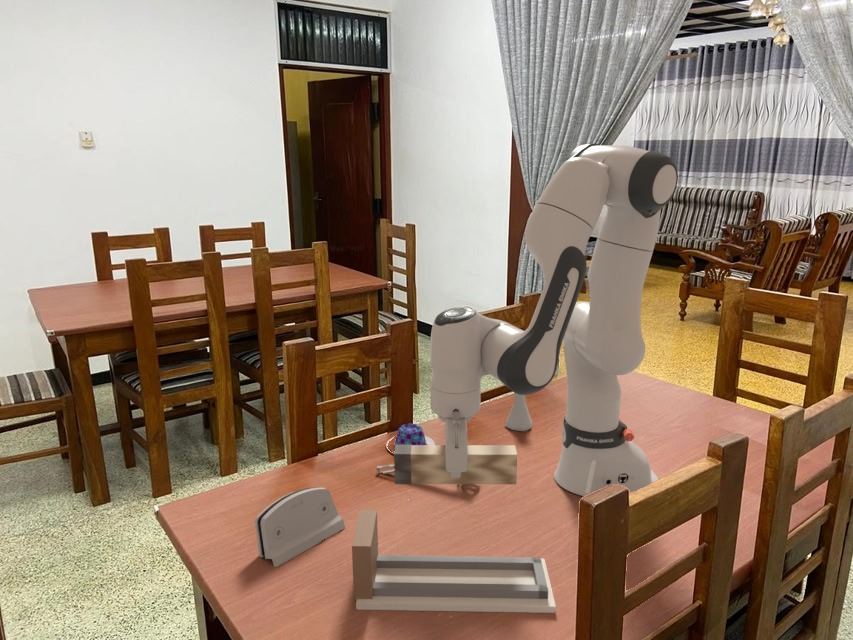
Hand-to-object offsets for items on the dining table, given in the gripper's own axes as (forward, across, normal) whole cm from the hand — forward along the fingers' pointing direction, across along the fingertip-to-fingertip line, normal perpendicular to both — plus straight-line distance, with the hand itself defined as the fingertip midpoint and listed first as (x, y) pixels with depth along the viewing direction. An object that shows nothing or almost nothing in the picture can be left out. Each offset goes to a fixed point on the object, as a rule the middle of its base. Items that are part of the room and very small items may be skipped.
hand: (455, 468), depth 116 cm
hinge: (+15, -1, +30) cm, 33 cm away
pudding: (+15, +37, +10) cm, 41 cm away
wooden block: (+2, 0, 0) cm, 2 cm away
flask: (+15, +49, -18) cm, 54 cm away
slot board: (+15, -13, 0) cm, 20 cm away
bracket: (+15, +22, +6) cm, 27 cm away
